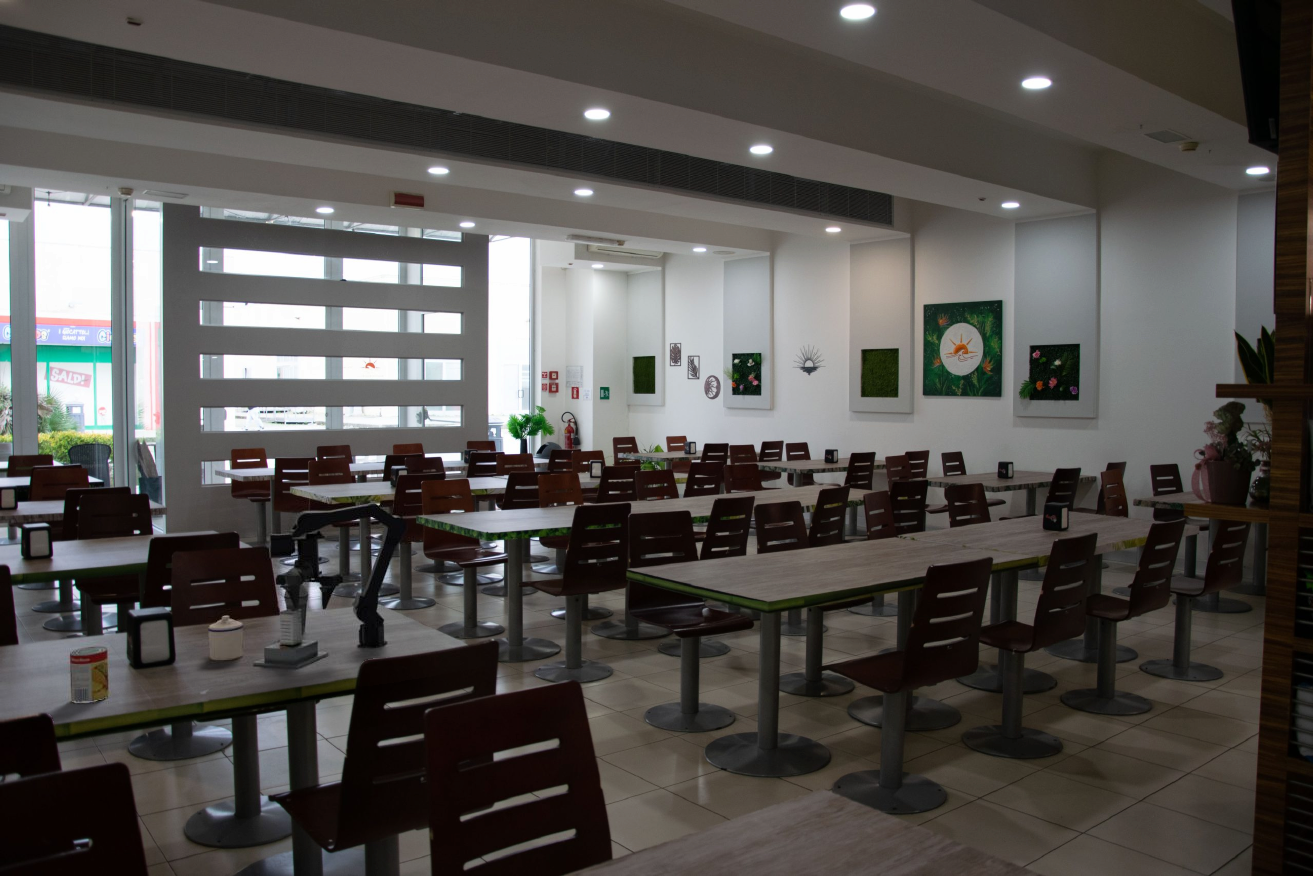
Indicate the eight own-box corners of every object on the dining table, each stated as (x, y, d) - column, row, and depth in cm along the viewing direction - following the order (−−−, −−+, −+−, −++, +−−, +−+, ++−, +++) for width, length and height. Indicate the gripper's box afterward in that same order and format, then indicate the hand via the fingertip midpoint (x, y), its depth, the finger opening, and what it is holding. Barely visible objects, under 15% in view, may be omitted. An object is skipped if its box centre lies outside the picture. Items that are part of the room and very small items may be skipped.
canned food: (114, 693, 234) (112, 645, 234) (100, 703, 226) (99, 653, 226) (80, 695, 233) (78, 647, 233) (65, 705, 225) (63, 655, 225)
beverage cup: (300, 635, 291) (299, 571, 290) (279, 634, 292) (278, 571, 292) (314, 630, 298) (312, 567, 297) (293, 629, 299) (291, 567, 299)
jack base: (328, 655, 268) (327, 639, 268) (297, 668, 254) (296, 651, 254) (286, 652, 272) (286, 636, 272) (253, 665, 258) (253, 648, 258)
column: (302, 641, 264) (301, 609, 264) (292, 645, 260) (291, 613, 260) (289, 640, 266) (288, 608, 265) (279, 644, 261) (278, 612, 261)
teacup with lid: (250, 655, 269) (249, 614, 269) (222, 662, 261) (221, 621, 261) (224, 649, 275) (223, 610, 275) (195, 657, 267) (194, 616, 267)
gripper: (261, 559, 265) (264, 614, 265) (320, 560, 260) (322, 616, 261) (286, 552, 275) (288, 605, 276) (342, 553, 271) (345, 607, 272)
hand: (310, 608), depth 271 cm, fingers open, 9 cm apart
